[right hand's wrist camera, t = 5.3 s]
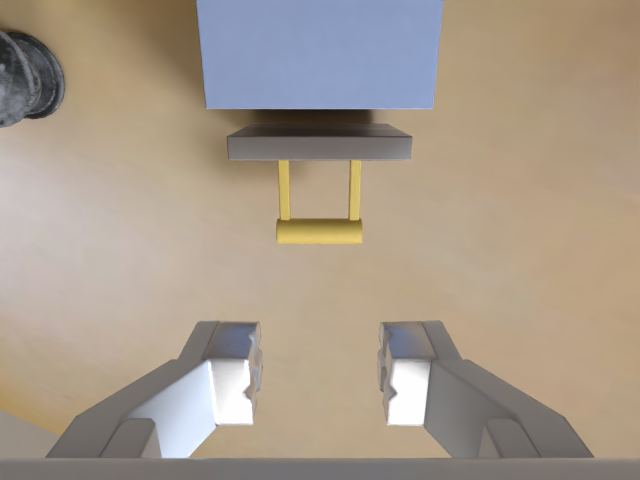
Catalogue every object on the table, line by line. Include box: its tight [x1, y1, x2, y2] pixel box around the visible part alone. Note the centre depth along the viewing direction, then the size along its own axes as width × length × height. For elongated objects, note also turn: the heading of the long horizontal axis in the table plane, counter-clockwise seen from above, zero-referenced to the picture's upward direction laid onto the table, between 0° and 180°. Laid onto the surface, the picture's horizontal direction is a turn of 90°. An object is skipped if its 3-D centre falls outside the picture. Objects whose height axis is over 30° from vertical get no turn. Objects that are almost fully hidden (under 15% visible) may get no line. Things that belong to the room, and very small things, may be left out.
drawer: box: [227, 124, 412, 243], centre depth 21 cm, size 24×9×8 cm, turn 0°
